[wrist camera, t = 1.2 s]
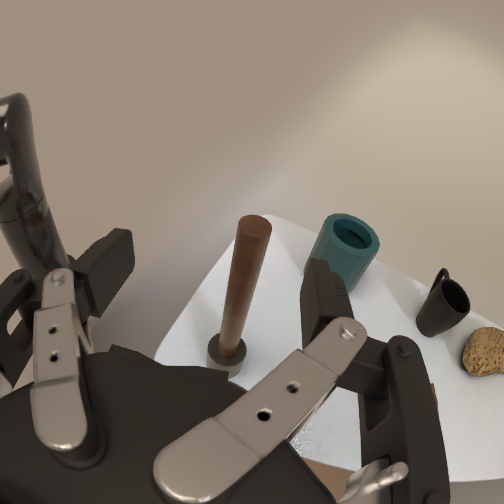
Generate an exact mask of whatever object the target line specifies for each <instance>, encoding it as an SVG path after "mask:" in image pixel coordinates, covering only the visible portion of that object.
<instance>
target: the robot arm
mask: <svg viewBox="0 0 504 504" xmlns="http://www.w3.org/2000/svg"><path fill="white" fill-rule="evenodd" d="M7 164H10V175H9V176H8V177H7V178H6V179H4V180H3V181H2V182H1V183H0V229H1V231H2V233H3V235H4V237H5V240H6V241H7V244H8V246H9V247H10V249H11V251H12V253H13V255H14V257H15V259H16V261H17V262H18V264H19V266H20V268H21V269H19V270H16V271H14V272H13V273H11V274H10V275H9V276H8V277H7V278H6V279H5V281H4V282H3V283H2V284H1V285H0V504H449V502H450V486H449V475H448V467H447V460H446V453H445V447H444V441H443V436H442V431H441V426H440V421H439V416H438V412H437V408H436V404H435V399H434V396H433V392H432V388H431V384H430V381H429V377H428V374H427V370H426V367H425V364H424V361H423V357H422V354H421V351H420V349H419V347H418V345H417V344H416V343H415V342H414V341H413V340H411V339H410V338H408V337H405V336H401V335H397V336H393V337H392V338H391V339H390V340H389V341H388V343H385V342H382V341H379V340H376V339H373V338H370V337H368V336H367V332H366V329H365V328H364V326H363V325H362V324H361V323H359V322H358V321H356V320H355V319H354V315H353V311H352V308H351V304H350V300H349V297H348V293H347V290H346V286H345V283H344V280H343V279H342V278H341V276H340V275H339V274H338V273H337V272H330V268H329V264H328V260H327V259H321V258H314V257H310V258H309V260H308V264H307V268H306V271H305V275H304V279H303V282H302V286H301V291H300V312H301V329H302V348H303V351H301V350H300V349H297V350H295V351H294V352H292V353H291V354H290V355H289V356H288V357H287V358H286V359H285V360H284V361H283V362H281V363H280V364H279V365H278V366H277V367H276V368H275V369H274V370H272V371H271V372H270V373H269V374H268V375H267V376H266V377H264V378H263V379H262V380H261V381H260V382H259V383H257V384H256V385H255V386H254V387H253V388H251V389H250V390H249V391H247V390H245V389H244V388H242V387H241V386H239V385H237V384H235V383H233V382H231V381H228V379H229V372H228V371H222V370H216V369H210V368H205V367H200V366H165V365H162V364H160V363H158V362H156V361H154V360H152V359H150V358H148V357H146V356H145V355H143V354H141V353H139V352H137V351H133V350H129V349H126V348H122V347H120V346H116V345H113V344H112V346H111V348H110V349H109V351H108V352H99V353H95V352H94V347H93V342H92V337H91V331H90V325H89V321H88V317H89V316H90V315H91V316H94V317H98V318H100V317H101V316H102V314H103V313H104V311H105V310H106V308H107V307H108V305H109V304H110V302H111V301H112V299H113V298H114V297H115V295H116V294H117V292H118V291H119V289H120V288H121V286H122V285H123V284H124V282H125V281H126V280H127V278H128V277H129V275H130V274H131V273H132V271H133V269H134V265H135V256H134V247H133V239H132V233H131V231H130V230H127V229H119V228H115V229H113V230H112V231H111V232H110V233H109V234H108V235H107V236H106V237H103V238H101V239H99V240H97V241H96V242H94V243H93V244H92V245H91V246H90V247H89V249H87V250H86V251H85V253H84V254H82V255H81V256H80V257H79V258H78V259H77V260H76V261H75V262H74V263H73V264H72V265H71V263H70V261H69V259H68V257H67V254H66V252H65V249H64V247H63V244H62V242H61V239H60V237H59V234H58V231H57V229H56V226H55V223H54V220H53V217H52V214H51V211H50V208H49V206H48V202H47V199H46V196H45V192H44V189H43V185H42V181H41V175H40V169H39V163H38V159H37V154H36V148H35V141H34V133H33V123H32V114H31V109H30V105H29V101H28V99H27V97H26V96H25V95H24V94H23V93H20V92H18V93H14V94H11V95H8V96H5V97H3V98H0V167H1V166H4V165H7ZM17 309H18V311H19V313H20V315H21V317H22V320H21V321H20V323H19V324H18V325H17V327H16V328H15V330H14V331H13V333H12V334H11V335H9V334H8V331H7V323H8V320H9V319H10V317H11V316H12V315H13V314H14V312H15V311H16V310H17ZM32 354H33V372H34V381H33V382H31V383H29V384H27V385H25V386H23V387H21V388H19V389H17V390H15V391H13V392H12V390H13V388H14V386H15V384H16V383H17V381H18V379H19V377H20V375H21V373H22V371H23V370H24V368H25V366H26V364H27V363H28V361H29V359H30V358H31V356H32ZM337 386H338V387H341V388H344V389H347V390H350V391H353V392H356V393H358V404H359V418H360V435H361V467H362V468H361V469H360V470H358V471H356V472H355V473H354V474H353V475H352V476H351V477H350V479H349V480H348V483H347V487H346V491H345V494H344V495H343V497H342V498H341V499H340V500H339V501H337V502H336V501H335V498H334V497H333V495H332V493H331V492H330V491H329V490H328V489H327V487H326V486H325V485H324V484H323V483H322V482H321V481H320V479H319V478H318V477H317V476H316V475H315V473H314V472H313V471H312V470H311V469H310V468H309V466H308V465H307V464H306V463H305V461H304V460H303V459H302V458H301V457H300V455H299V454H298V453H297V452H296V450H295V449H294V448H293V447H292V445H291V444H290V442H291V441H292V440H293V439H294V438H295V437H296V435H297V434H298V433H299V432H300V431H301V430H302V429H303V428H304V426H305V425H306V424H307V423H308V422H309V420H310V419H311V418H312V417H313V416H314V414H315V413H316V412H317V411H318V410H319V409H320V407H321V406H322V405H323V404H324V402H325V401H326V400H327V399H328V398H329V396H330V395H331V394H332V393H333V391H334V390H335V389H336V387H337Z"/></svg>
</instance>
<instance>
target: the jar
mask: <svg viewBox="0 0 504 504" xmlns="http://www.w3.org/2000/svg"><path fill="white" fill-rule="evenodd" d="M379 245H380V243H379V240H378V237H377V235H376V233H375V232H374V231H373V229H372V228H371V227H370V226H369V225H367V224H366V223H365V222H364V221H362V220H360V219H358V218H356V217H354V216H351V215H348V214H333V215H330V216H328V217H327V219H326V220H325V222H324V224H323V226H322V228H321V231H320V233H319V235H318V238H317V240H316V242H315V244H314V247H313V249H312V251H311V253H310V256H309V258H310V257H314V258H321V259H327V260H328V264H329V268H330V272H337V273H338V274H339V275H340V276H341V278H342V279H343V280H344V283H345V286H346V290H347V293H348V294H349V293H350V292H351V291H352V289H353V288H354V287H355V285H356V284H357V282H358V281H359V279H360V278H361V276H362V275H363V273H364V272H365V270H366V269H367V267H368V266H369V264H370V263H371V261H372V259H373V258H374V256H375V255H376V253H377V251H378V249H379ZM309 258H308V260H309ZM308 260H307V262H306V265H305V268H304V275H305V271H306V268H307V264H308Z"/></svg>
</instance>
